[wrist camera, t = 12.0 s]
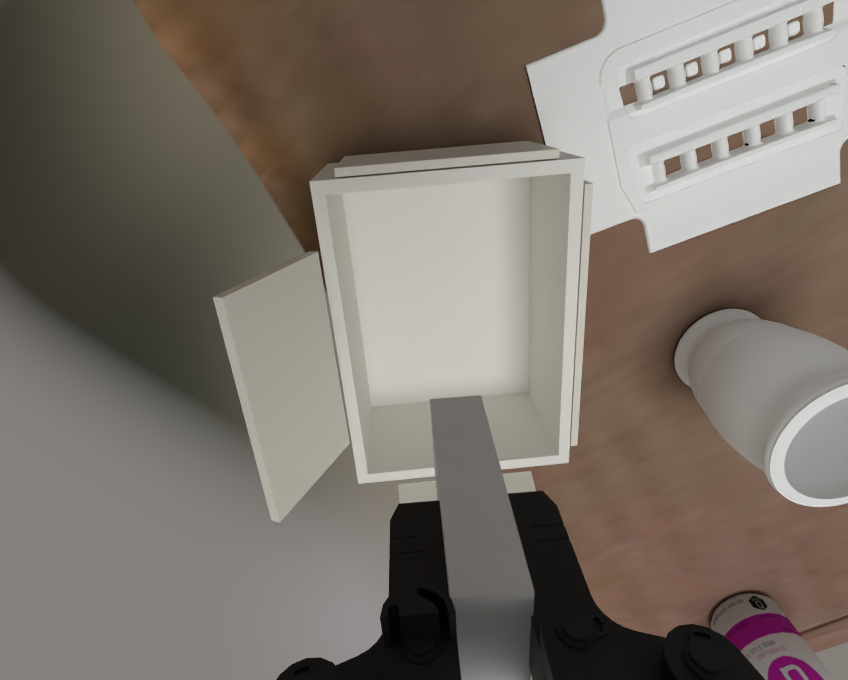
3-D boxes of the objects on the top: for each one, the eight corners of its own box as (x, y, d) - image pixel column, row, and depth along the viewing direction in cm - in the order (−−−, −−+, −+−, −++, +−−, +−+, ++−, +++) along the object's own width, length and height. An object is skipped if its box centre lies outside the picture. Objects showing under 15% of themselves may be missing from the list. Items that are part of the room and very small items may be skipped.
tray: (910, 152, 42) (954, 157, 38) (573, 273, 45) (586, 287, 42) (918, -162, 33) (976, -191, 30) (505, 18, 37) (514, 11, 34)
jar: (782, 286, 45) (952, 365, 31) (769, 387, 49) (913, 494, 36) (662, 308, 45) (780, 395, 32) (659, 406, 50) (762, 520, 36)
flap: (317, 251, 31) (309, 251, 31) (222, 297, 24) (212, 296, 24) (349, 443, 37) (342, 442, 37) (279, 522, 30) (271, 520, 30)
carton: (325, 155, 38) (305, 170, 29) (547, 136, 39) (595, 146, 30) (363, 411, 48) (357, 483, 39) (541, 394, 48) (576, 461, 39)
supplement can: (699, 606, 62) (786, 747, 48) (766, 580, 61) (875, 717, 47) (716, 643, 65) (802, 785, 52) (780, 619, 64) (885, 758, 50)
